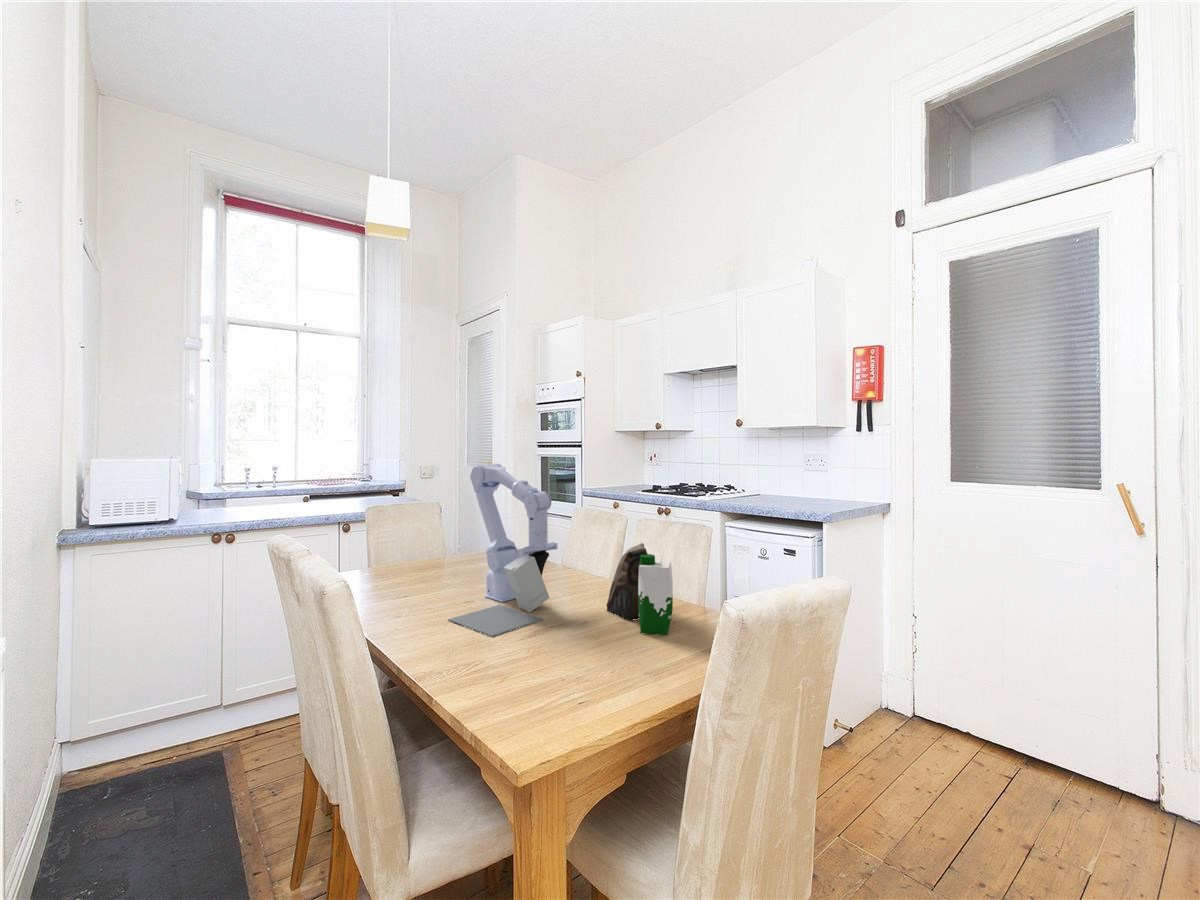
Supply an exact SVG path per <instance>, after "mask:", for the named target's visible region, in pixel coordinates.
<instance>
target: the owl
mask: <svg viewBox="0 0 1200 900" xmlns="http://www.w3.org/2000/svg"><path fill="white" fill-rule="evenodd" d="M643 554H648V550H647V548H646V547H645V544H644V543H643V542H642V543H640V544H637V545H635V546H632V547H629V549H627V550H626V551H625V552H624V554H623V555H622V556H621V558H620V560H619V562H618V564H617V567H616V571H615V574H614V577H613V579H612V582H611V585H610V590H609V594H608V599H607V602H606V610H607V611H609V612H608V613H610V612H611V613H610V614H612V613H613V614H612V615H614V614H616V615H615V616H617V615H618V616H620V617H619V618H621V617H623V618H624V619H623V618H622V619H623V620H625V619H628V620H627V621H629V620H633V619H638V618H639V608H638V581H639V563H640V555H643ZM607 611H606V612H607ZM618 616H617V617H618ZM638 620H639V619H638Z"/></svg>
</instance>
